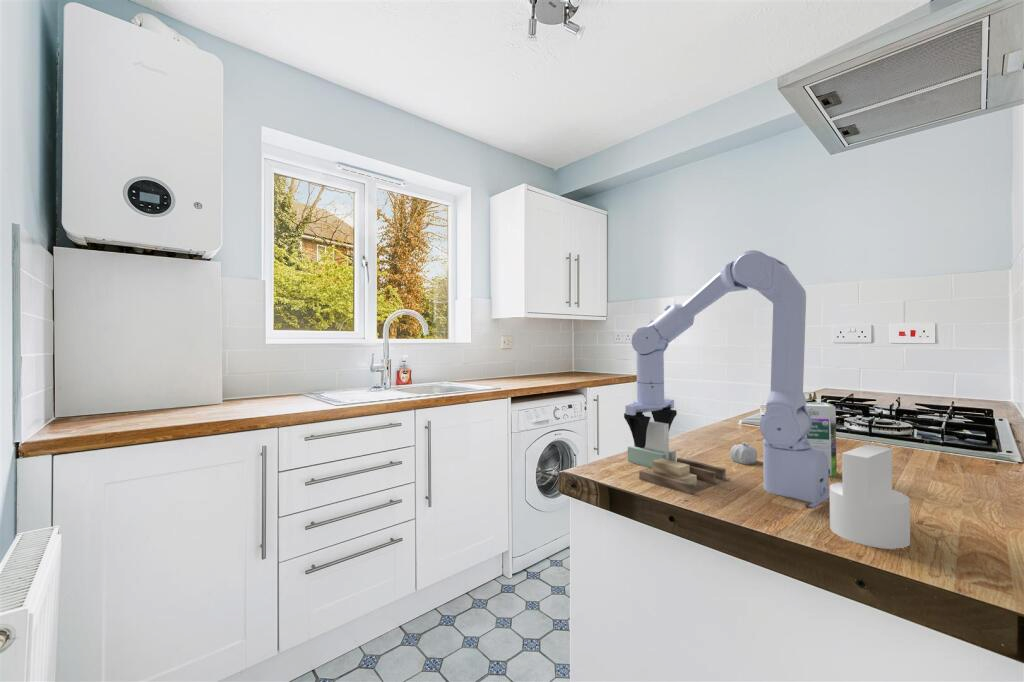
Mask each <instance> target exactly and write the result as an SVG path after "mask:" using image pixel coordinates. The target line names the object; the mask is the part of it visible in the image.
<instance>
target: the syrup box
mask: <svg viewBox="0 0 1024 682" xmlns="http://www.w3.org/2000/svg"><path fill="white" fill-rule="evenodd" d="M806 409H807V412H808V414H809V416H810V418H811V422H812V426H811V430H810V431H809V433H808V434H807V435H806V436H805V437H806V438H807V440H808V441H809V443H810V448H812V449H814V450H817V451H821V452H824V453H825V454H826V456H827V459H828V477H834V478H837V477H838V471H837V469H838V467H837V466H838V465H837V464H838V463H837V425H836V424H837V416H836V414H837V413H836V411H837V410H836V409H837V408H836V406H835V405H833V404H831V403H829V402H812V401H811V402H810V401H809V402H807V401H806Z"/></svg>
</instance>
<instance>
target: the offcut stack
mask: <svg viewBox="0 0 1024 682" xmlns="http://www.w3.org/2000/svg"><path fill="white" fill-rule="evenodd" d="M652 471H653V472H652V473H655V474H659V475H662V476H666V477H669V478H673V479H677V480H680V481H684V482H687V483H691V484H694V486H695V485H697V475H694V474H690V465H688V464H684V463H680V462H677V460H676V461H672V460H667V459H663V458H661V459H657V460H654V461H653V468H652Z"/></svg>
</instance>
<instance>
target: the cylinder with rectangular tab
mask: <svg viewBox="0 0 1024 682" xmlns="http://www.w3.org/2000/svg"><path fill="white" fill-rule="evenodd" d="M841 456H842V457H841V459H842V460H841V461H842V462H841V463H842V464H841V465H842V473H841V474H842V477H841V478H842V482H836V483H831V484H830V485H829V495H830V498H829V529H830V531H832V533H834V534H835V535H837V536H838V537H840V538H842V539H844V540H847V541H850V542H852V543H856V544H860V545H863V546H868V547H872V548H877V549H886V550H897V549H896V548H902V549H905V548H904V547H906V548H908V547H907V546H909V547H910V545H911V499H910V497H908V496H907V495H906V494H904V493H902V492H900V491H897V490H895V489H893V449H892V448H891V447H886V446H881V445H874V444H864V445H862V446H859V447H856V448H852V449H850V450H847V451H844V452H842V455H841ZM894 548H895V549H894Z"/></svg>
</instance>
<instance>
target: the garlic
mask: <svg viewBox="0 0 1024 682" xmlns="http://www.w3.org/2000/svg"><path fill="white" fill-rule="evenodd" d="M729 455H730V458H731V460H732V461H733V462H735V463H738V464H742V465H747V464H749V465H751V464H752V465H753V464H756V463H757V460H758V451H757V448H755V446H752V445H750V443H748V442H746V441H743V442H742V443H739V444H734V445H733V446H732V447H731V448H730V452H729Z"/></svg>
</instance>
